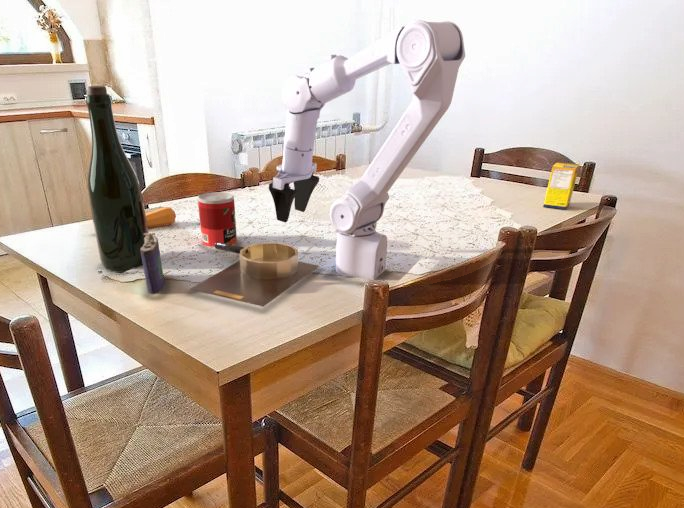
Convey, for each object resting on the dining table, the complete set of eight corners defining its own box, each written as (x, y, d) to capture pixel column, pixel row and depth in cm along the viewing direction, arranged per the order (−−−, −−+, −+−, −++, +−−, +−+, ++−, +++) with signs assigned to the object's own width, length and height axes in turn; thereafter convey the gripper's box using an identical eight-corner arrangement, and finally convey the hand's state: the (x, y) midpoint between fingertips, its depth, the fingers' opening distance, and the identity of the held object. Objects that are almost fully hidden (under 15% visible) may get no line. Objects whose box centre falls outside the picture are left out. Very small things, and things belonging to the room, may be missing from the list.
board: (319, 270, 108) (319, 265, 107) (263, 311, 91) (262, 306, 91) (253, 257, 114) (253, 252, 114) (189, 293, 98) (188, 288, 97)
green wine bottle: (119, 277, 105) (83, 89, 87) (92, 265, 111) (53, 86, 93) (163, 263, 111) (138, 85, 94) (135, 252, 117) (106, 83, 100)
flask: (151, 279, 104) (142, 225, 98) (166, 279, 104) (159, 224, 98) (147, 299, 96) (137, 241, 90) (163, 298, 96) (155, 240, 91)
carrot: (175, 224, 137) (169, 206, 136) (179, 221, 133) (173, 203, 132) (98, 244, 130) (92, 225, 129) (100, 242, 126) (93, 223, 125)
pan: (307, 264, 107) (308, 248, 105) (279, 284, 99) (279, 266, 97) (231, 250, 115) (230, 234, 113) (199, 267, 107) (197, 250, 105)
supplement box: (569, 205, 148) (580, 163, 142) (565, 210, 144) (577, 167, 138) (546, 202, 151) (556, 161, 145) (542, 207, 146) (552, 165, 140)
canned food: (231, 252, 117) (228, 201, 111) (197, 250, 118) (192, 199, 112) (241, 241, 123) (238, 192, 117) (208, 239, 125) (204, 191, 119)
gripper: (298, 135, 108) (291, 201, 116) (261, 149, 97) (256, 220, 106) (329, 143, 105) (319, 209, 114) (294, 158, 95) (286, 230, 103)
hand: (291, 215), depth 110 cm, fingers open, 7 cm apart
